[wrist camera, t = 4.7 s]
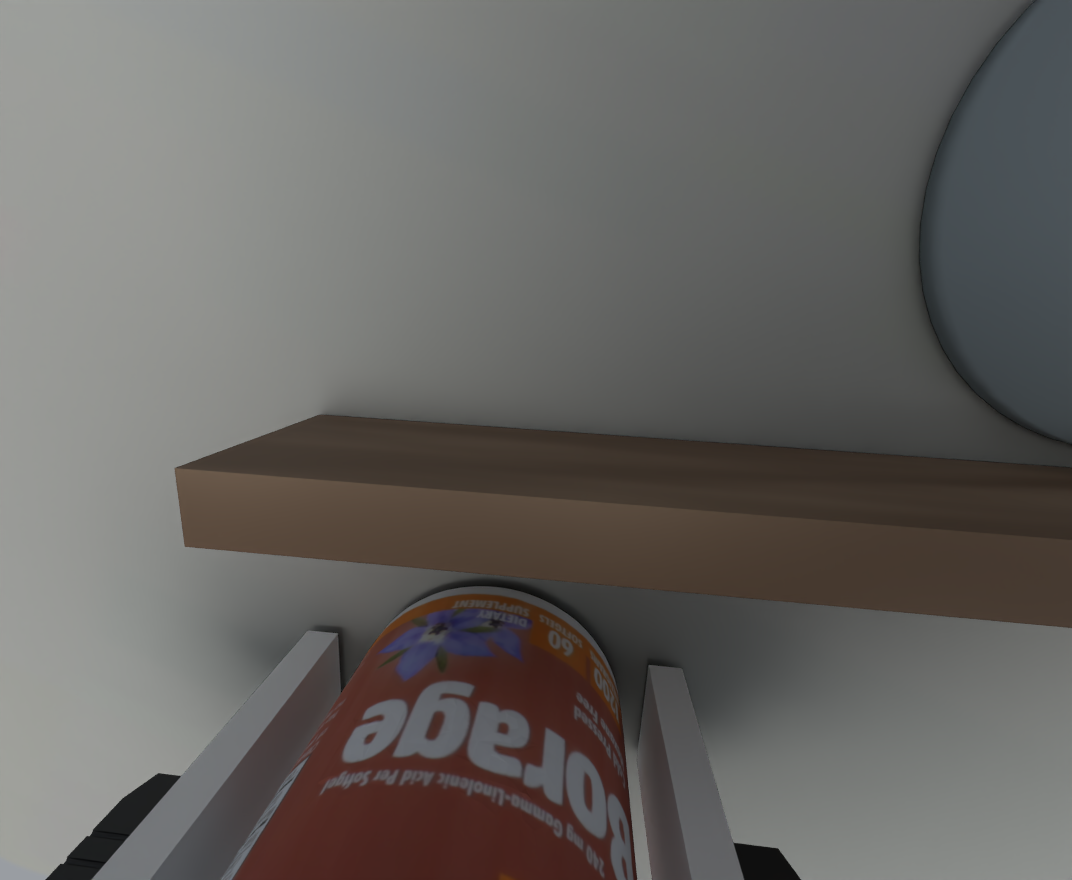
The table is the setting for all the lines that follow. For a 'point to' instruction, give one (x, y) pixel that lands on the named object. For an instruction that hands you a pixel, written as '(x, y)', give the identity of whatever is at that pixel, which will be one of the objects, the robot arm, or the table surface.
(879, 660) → the table surface
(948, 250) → the slate pad
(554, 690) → the pill bottle
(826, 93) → the table surface
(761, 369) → the table surface
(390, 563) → the divider rail
